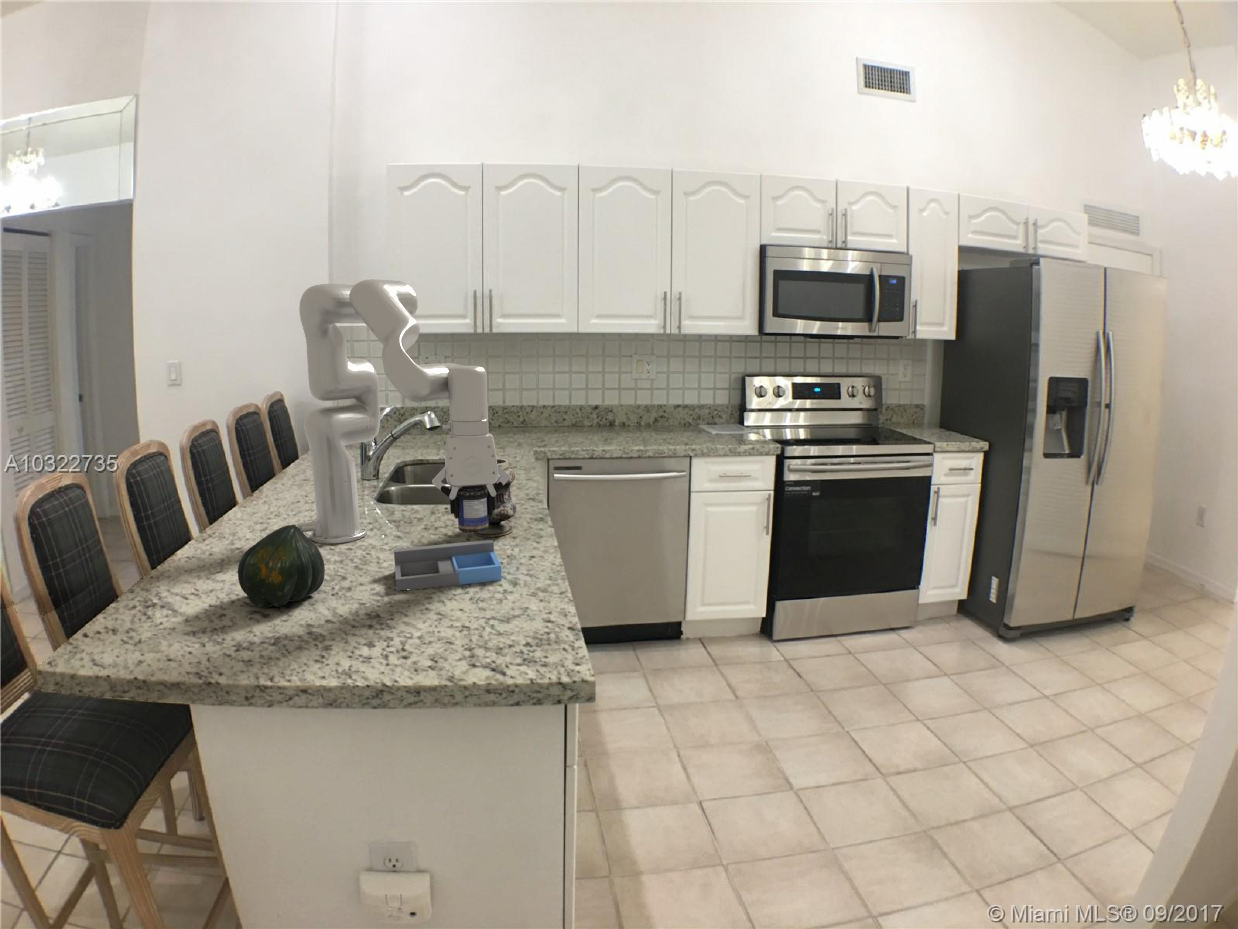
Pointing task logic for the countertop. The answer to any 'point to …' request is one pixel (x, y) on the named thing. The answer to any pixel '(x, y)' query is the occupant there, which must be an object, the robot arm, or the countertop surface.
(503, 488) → the apothecary jar
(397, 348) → the robot arm
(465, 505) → the pill bottle
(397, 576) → the organizer tray
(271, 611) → the countertop surface
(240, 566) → the squash
